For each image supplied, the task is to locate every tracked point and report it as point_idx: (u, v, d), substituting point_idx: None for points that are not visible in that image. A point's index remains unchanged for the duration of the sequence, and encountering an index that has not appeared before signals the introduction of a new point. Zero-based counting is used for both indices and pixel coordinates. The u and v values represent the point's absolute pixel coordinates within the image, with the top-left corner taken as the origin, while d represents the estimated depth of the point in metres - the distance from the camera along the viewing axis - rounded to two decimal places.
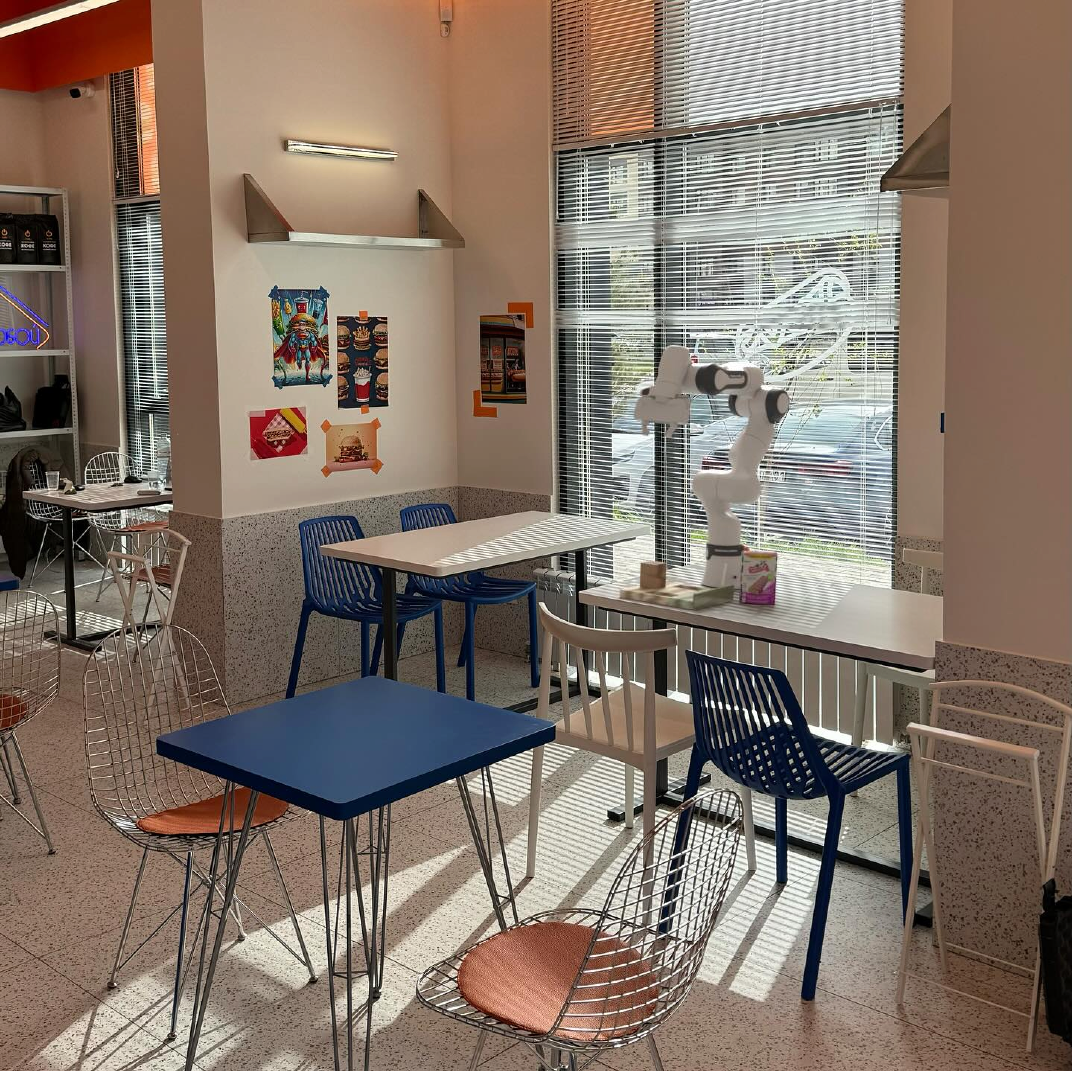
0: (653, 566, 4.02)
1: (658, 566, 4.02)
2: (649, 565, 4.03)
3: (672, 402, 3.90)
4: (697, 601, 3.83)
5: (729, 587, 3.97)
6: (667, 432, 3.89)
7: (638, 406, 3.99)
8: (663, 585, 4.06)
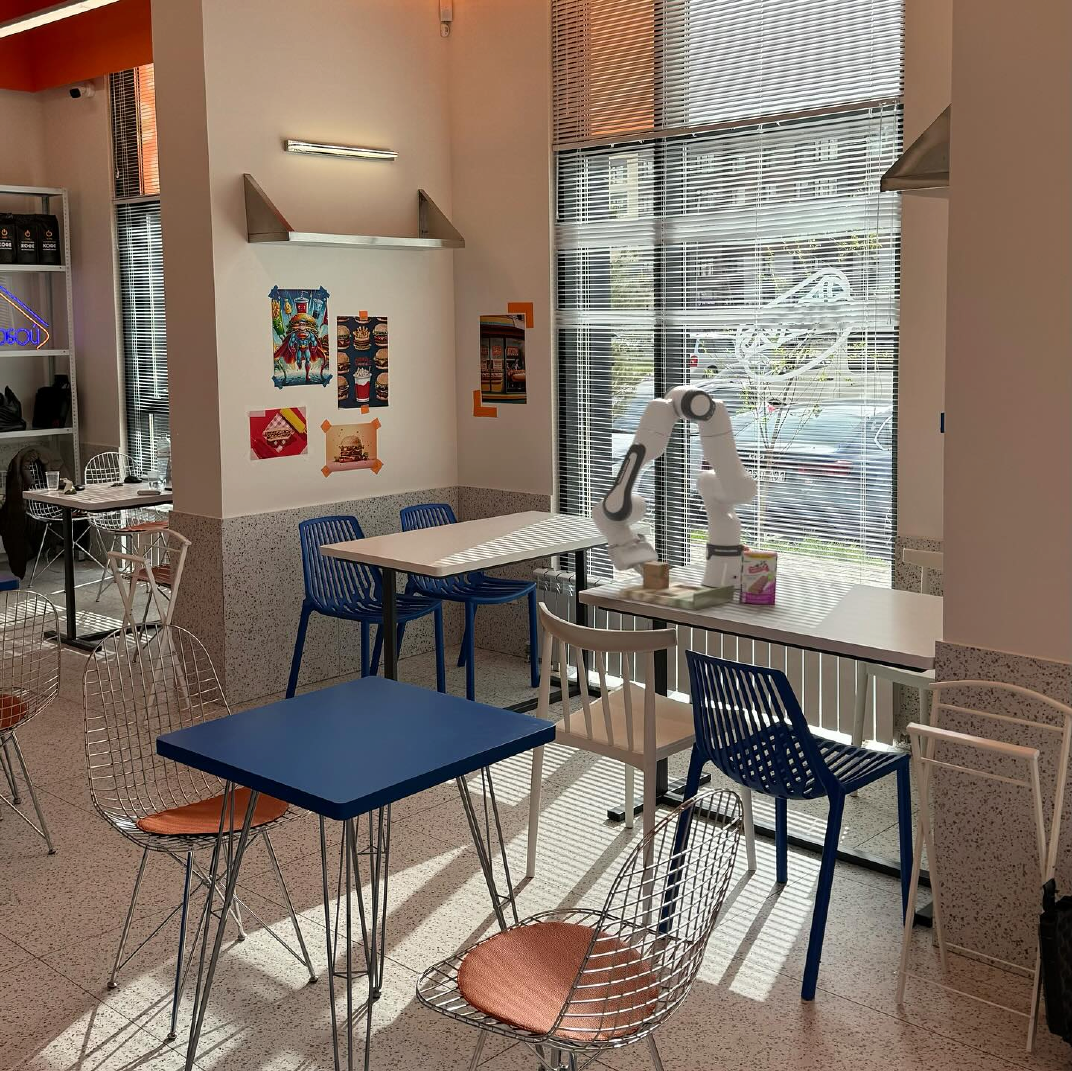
0: (656, 566, 4.01)
1: (661, 566, 4.01)
2: (652, 565, 4.02)
3: None
4: (697, 601, 3.83)
5: (729, 587, 3.97)
6: None
7: None
8: (666, 585, 4.05)
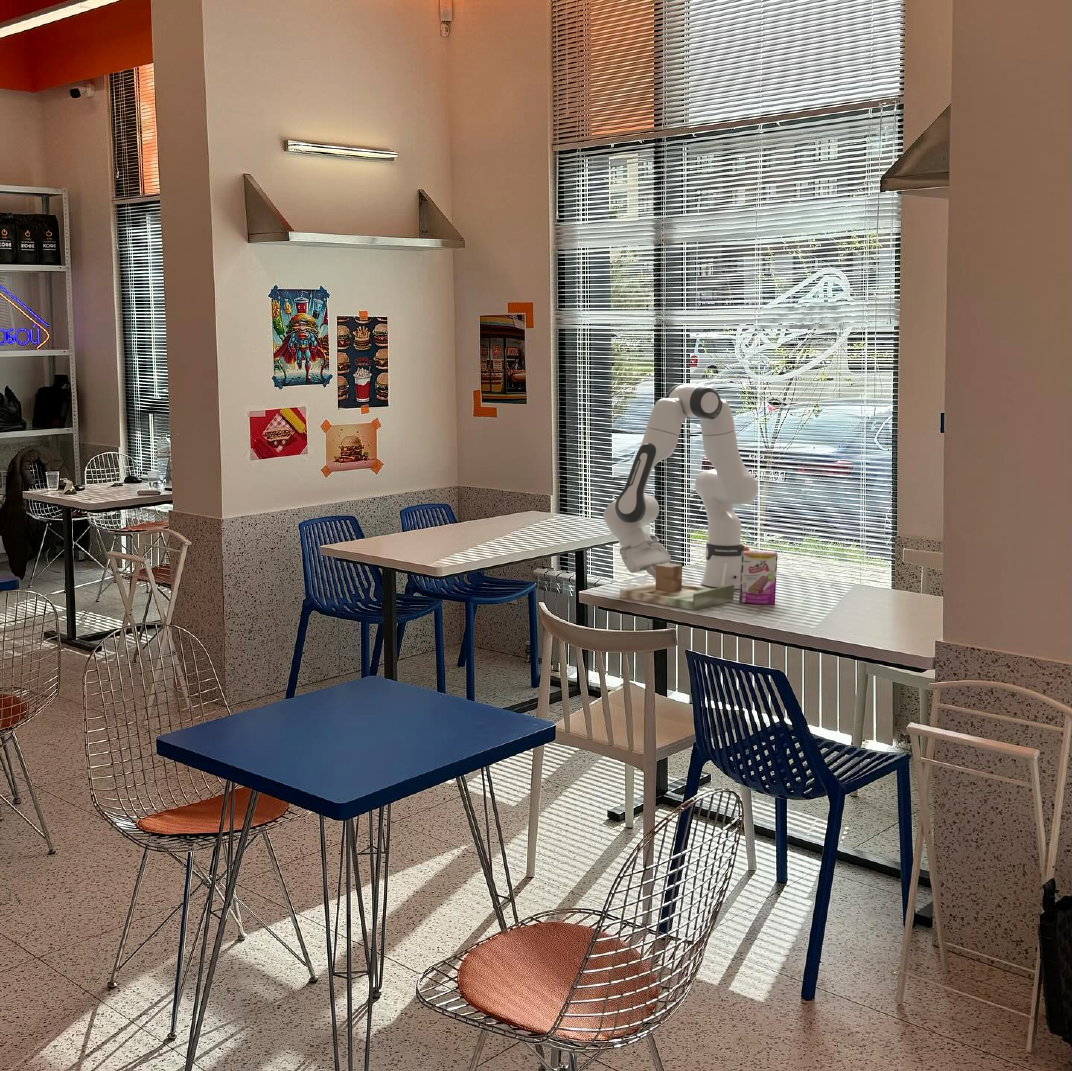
0: (669, 568, 3.97)
1: (674, 568, 3.98)
2: (665, 567, 3.98)
3: None
4: (697, 601, 3.83)
5: (729, 587, 3.97)
6: None
7: None
8: (679, 588, 4.01)
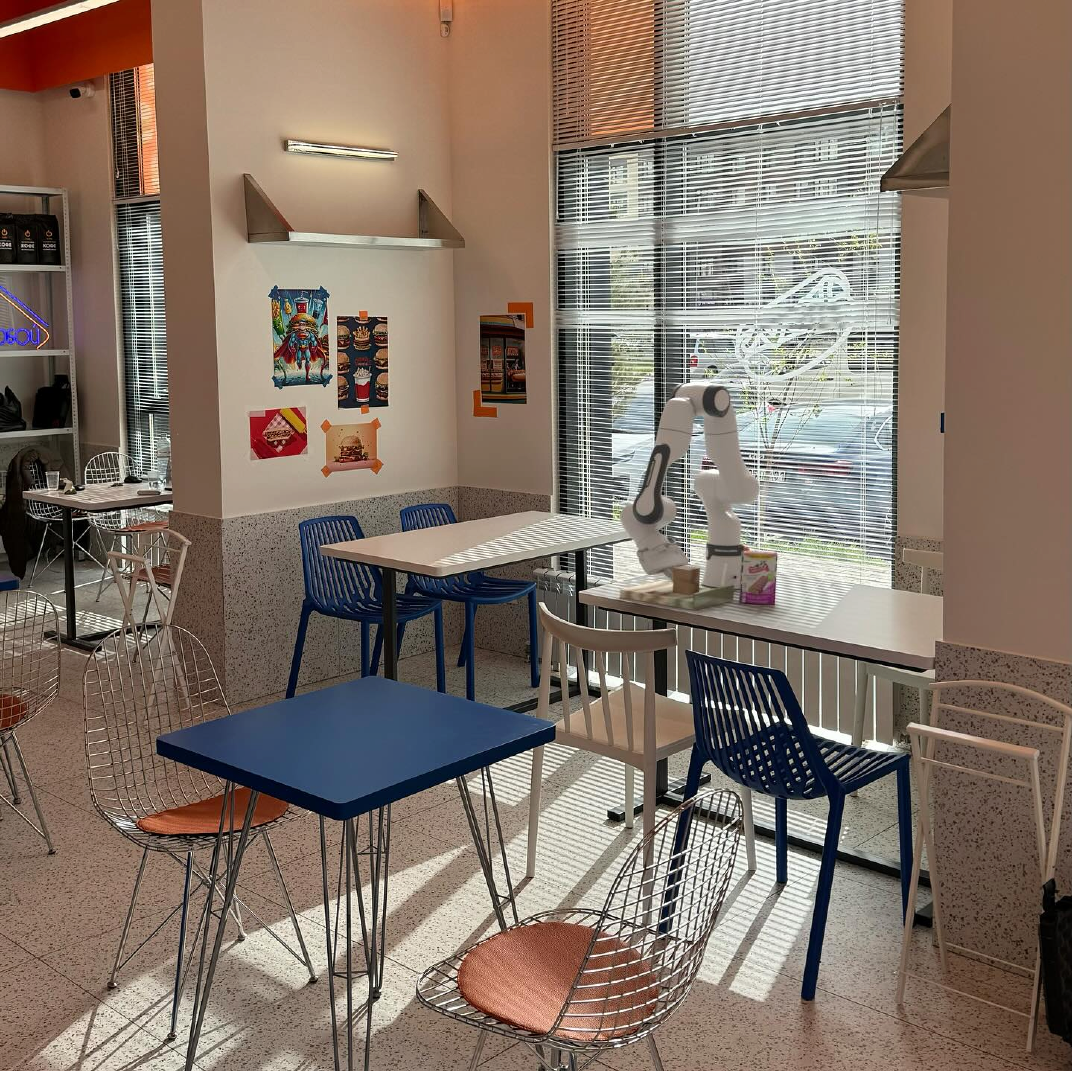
0: (687, 571, 3.93)
1: (692, 571, 3.93)
2: (682, 570, 3.94)
3: None
4: (697, 601, 3.83)
5: (729, 587, 3.97)
6: None
7: None
8: (697, 591, 3.97)
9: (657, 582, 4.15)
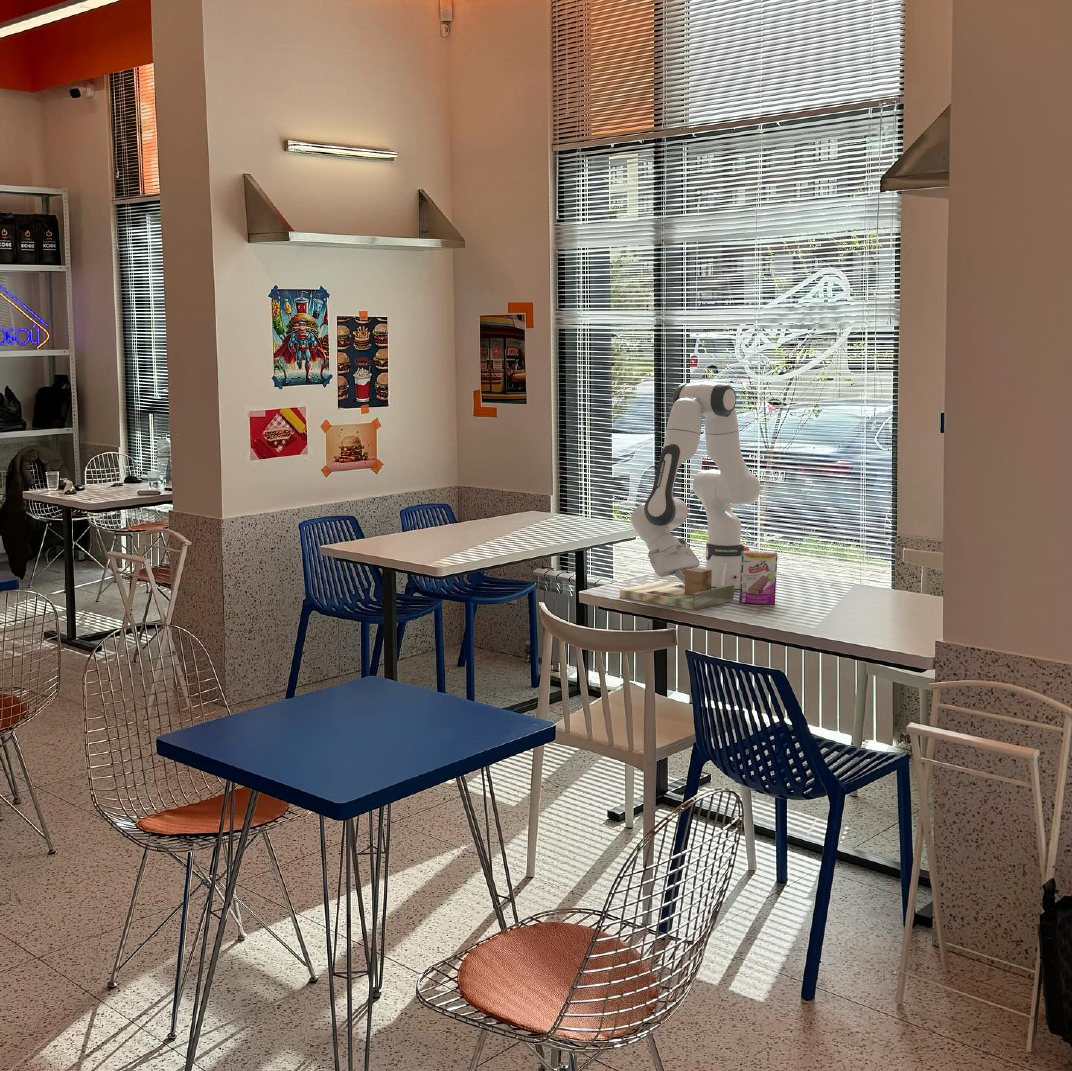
0: (698, 573, 3.90)
1: (703, 573, 3.91)
2: (694, 572, 3.91)
3: None
4: (697, 601, 3.83)
5: (729, 587, 3.97)
6: None
7: None
8: None
9: (657, 582, 4.15)
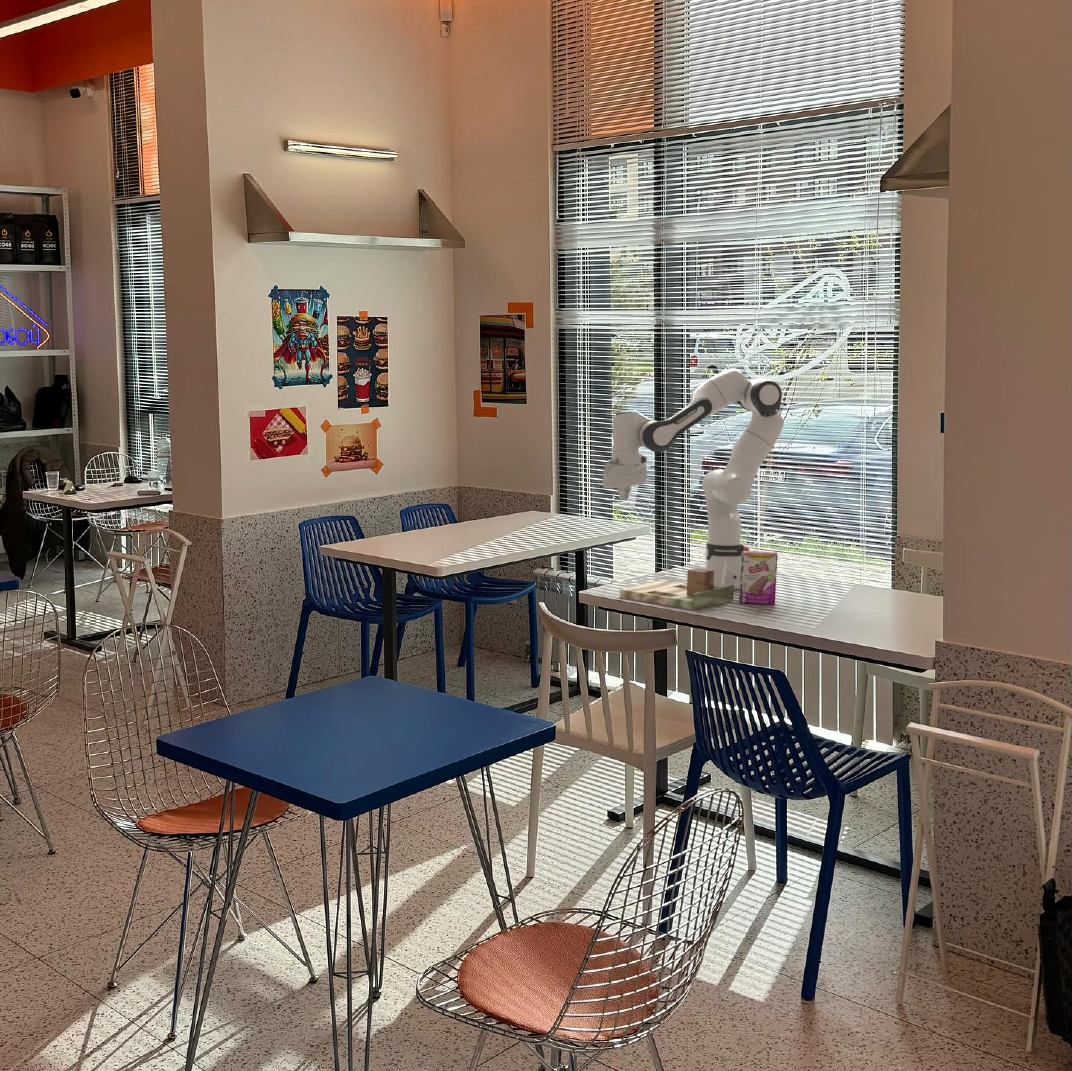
0: (701, 573, 3.89)
1: (706, 573, 3.90)
2: (697, 572, 3.90)
3: None
4: (697, 601, 3.83)
5: (729, 587, 3.97)
6: None
7: None
8: None
9: (657, 582, 4.15)
